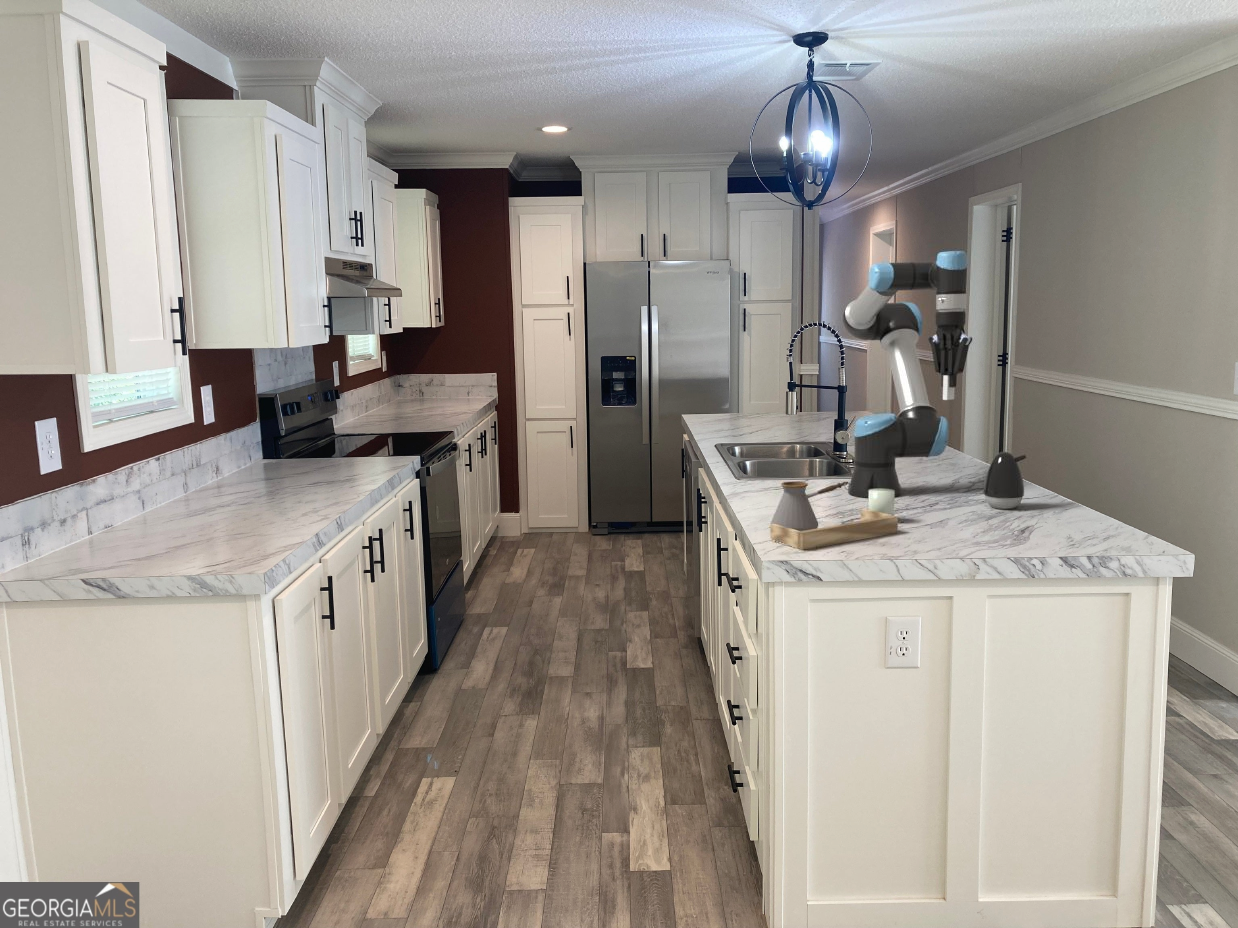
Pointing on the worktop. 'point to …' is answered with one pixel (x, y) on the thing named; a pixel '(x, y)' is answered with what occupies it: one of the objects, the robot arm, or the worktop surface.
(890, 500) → the green jar
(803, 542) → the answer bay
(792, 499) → the coffee pot
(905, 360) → the robot arm
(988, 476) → the pump dispenser
